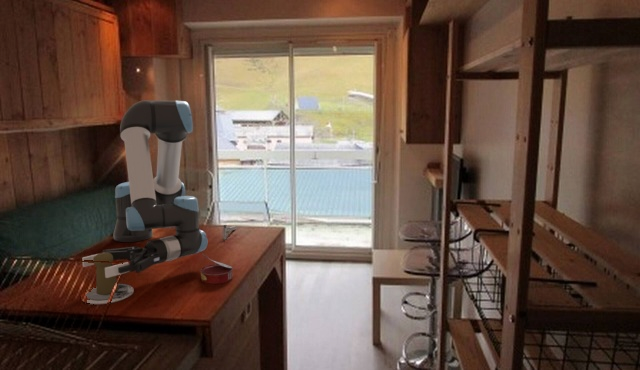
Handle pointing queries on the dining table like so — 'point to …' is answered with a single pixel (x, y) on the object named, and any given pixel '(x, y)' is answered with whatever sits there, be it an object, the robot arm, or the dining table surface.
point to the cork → (104, 283)
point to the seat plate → (119, 295)
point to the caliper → (227, 231)
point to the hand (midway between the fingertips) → (93, 267)
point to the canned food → (216, 273)
